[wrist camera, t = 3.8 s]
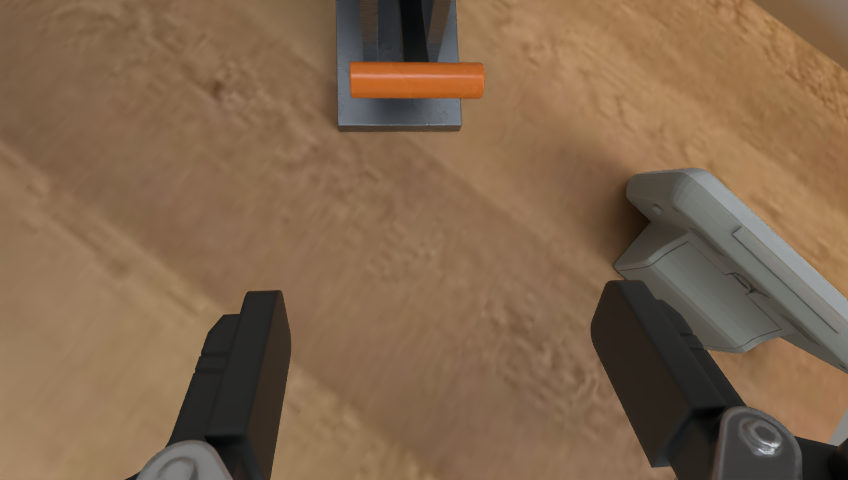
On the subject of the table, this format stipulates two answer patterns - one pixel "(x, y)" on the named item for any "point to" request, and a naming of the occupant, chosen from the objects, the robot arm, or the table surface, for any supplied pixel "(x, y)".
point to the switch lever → (415, 67)
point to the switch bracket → (380, 42)
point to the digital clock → (729, 269)
